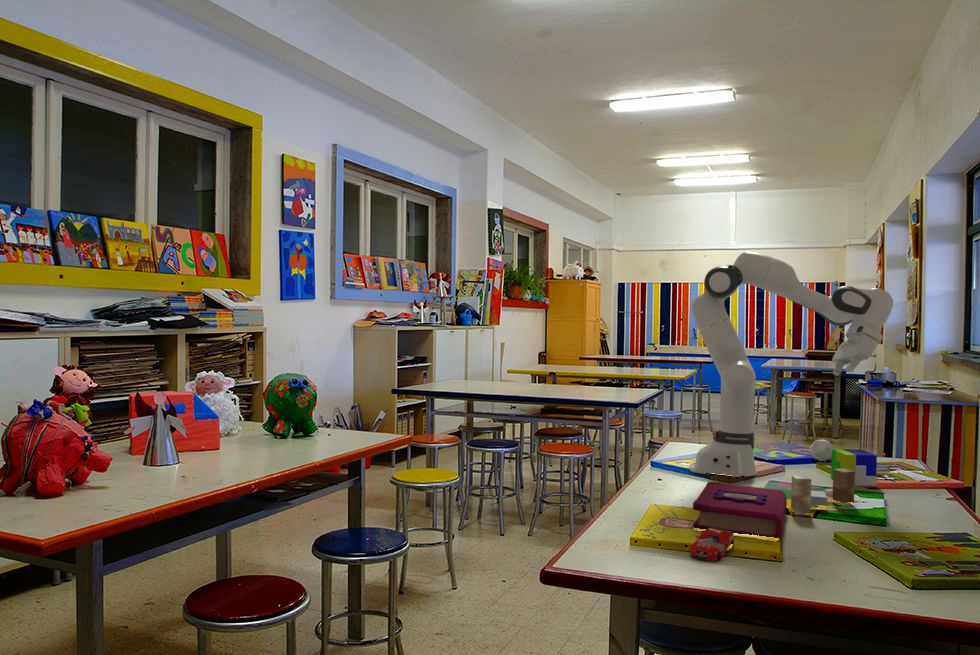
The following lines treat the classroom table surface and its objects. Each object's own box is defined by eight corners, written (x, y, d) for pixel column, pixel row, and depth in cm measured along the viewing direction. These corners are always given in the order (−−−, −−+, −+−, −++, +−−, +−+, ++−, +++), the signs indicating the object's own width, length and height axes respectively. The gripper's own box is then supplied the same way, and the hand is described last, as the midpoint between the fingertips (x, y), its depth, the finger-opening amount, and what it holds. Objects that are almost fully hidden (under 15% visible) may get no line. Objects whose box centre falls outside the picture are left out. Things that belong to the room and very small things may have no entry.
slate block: (799, 509, 206) (800, 495, 206) (797, 503, 213) (798, 489, 213) (826, 511, 204) (827, 497, 204) (824, 505, 211) (824, 491, 211)
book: (786, 515, 200) (787, 488, 200) (780, 544, 174) (781, 513, 174) (707, 505, 209) (708, 479, 208) (691, 532, 183) (691, 502, 183)
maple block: (794, 514, 199) (796, 478, 199) (790, 510, 203) (791, 475, 203) (810, 515, 199) (811, 479, 199) (805, 511, 203) (806, 476, 203)
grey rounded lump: (807, 462, 274) (822, 445, 269) (802, 447, 282) (817, 430, 276) (827, 470, 275) (842, 453, 270) (821, 455, 282) (836, 438, 277)
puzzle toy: (875, 486, 236) (876, 455, 235) (844, 485, 236) (845, 454, 236) (860, 479, 246) (861, 449, 245) (830, 478, 246) (831, 448, 246)
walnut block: (842, 506, 209) (843, 472, 209) (832, 503, 213) (833, 469, 213) (853, 505, 210) (854, 471, 210) (843, 502, 214) (844, 468, 214)
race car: (715, 566, 158) (715, 543, 158) (685, 559, 162) (686, 537, 162) (738, 547, 171) (739, 526, 171) (710, 541, 175) (711, 521, 175)
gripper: (838, 335, 244) (819, 371, 242) (867, 326, 224) (847, 364, 222) (855, 345, 243) (837, 380, 242) (886, 336, 223) (866, 375, 222)
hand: (842, 373), depth 232 cm, fingers open, 8 cm apart
